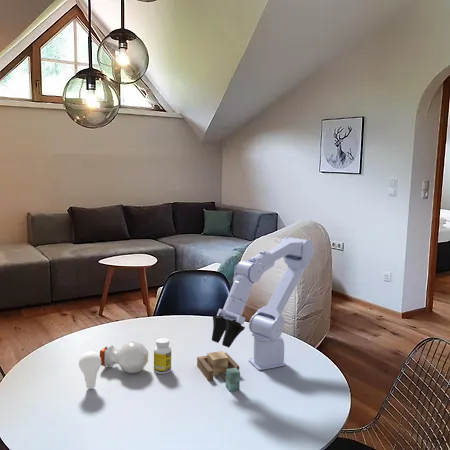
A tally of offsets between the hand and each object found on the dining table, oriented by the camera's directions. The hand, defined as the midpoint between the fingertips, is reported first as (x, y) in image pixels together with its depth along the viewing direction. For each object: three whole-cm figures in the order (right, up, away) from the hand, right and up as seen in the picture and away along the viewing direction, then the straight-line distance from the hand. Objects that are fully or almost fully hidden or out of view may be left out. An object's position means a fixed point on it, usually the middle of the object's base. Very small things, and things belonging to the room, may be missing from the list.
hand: (220, 344), depth 131 cm
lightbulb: (-37, -13, -1) cm, 39 cm away
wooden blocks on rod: (+1, -12, +6) cm, 14 cm away
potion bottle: (-30, -11, +10) cm, 33 cm away
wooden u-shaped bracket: (-1, -11, +11) cm, 15 cm away
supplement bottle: (-18, -11, +11) cm, 24 cm away
